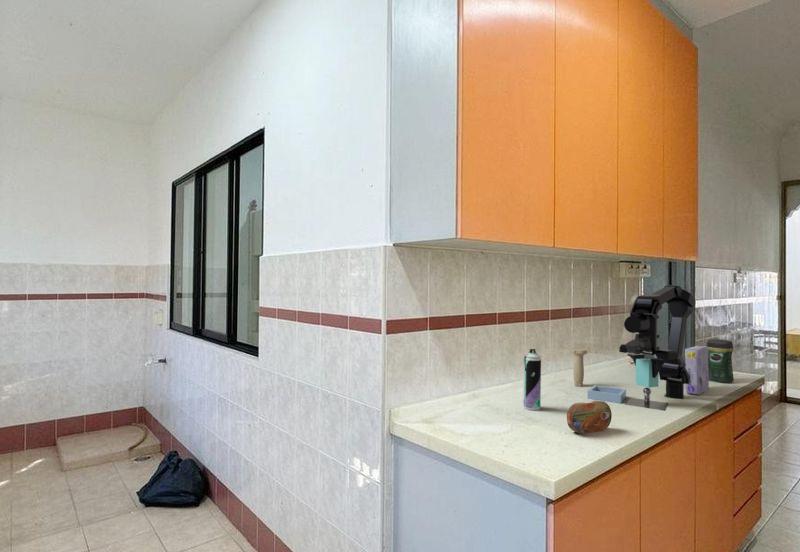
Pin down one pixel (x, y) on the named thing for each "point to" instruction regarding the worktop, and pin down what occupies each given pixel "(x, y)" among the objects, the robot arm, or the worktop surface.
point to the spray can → (532, 380)
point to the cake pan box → (697, 369)
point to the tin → (589, 417)
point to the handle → (578, 366)
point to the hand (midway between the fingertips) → (647, 376)
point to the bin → (607, 394)
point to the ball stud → (647, 402)
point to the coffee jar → (720, 360)
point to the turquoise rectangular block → (645, 373)
